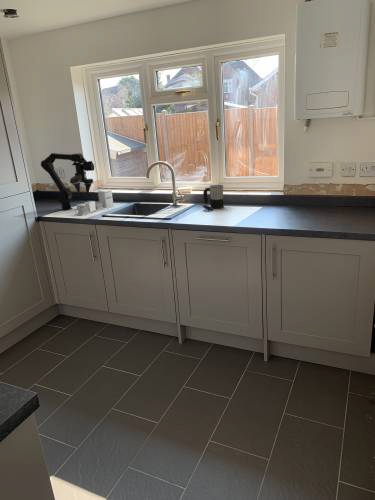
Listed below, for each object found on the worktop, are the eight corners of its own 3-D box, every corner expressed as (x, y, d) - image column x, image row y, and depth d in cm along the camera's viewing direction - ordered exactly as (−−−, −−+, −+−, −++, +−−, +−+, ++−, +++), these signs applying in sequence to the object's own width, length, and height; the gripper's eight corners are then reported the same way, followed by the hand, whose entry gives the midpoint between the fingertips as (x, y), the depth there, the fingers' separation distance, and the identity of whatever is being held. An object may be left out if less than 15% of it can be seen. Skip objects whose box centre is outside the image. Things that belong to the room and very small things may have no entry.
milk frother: (224, 205, 274) (223, 184, 269) (224, 210, 259) (223, 188, 254) (203, 206, 276) (202, 185, 271) (202, 211, 261) (200, 189, 256)
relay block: (77, 209, 297) (76, 205, 296) (79, 208, 301) (79, 203, 299) (81, 209, 296) (81, 205, 295) (84, 208, 299) (83, 203, 298)
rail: (76, 215, 277) (75, 207, 276) (99, 208, 295) (98, 201, 293) (82, 215, 274) (81, 207, 272) (105, 208, 291) (104, 201, 290)
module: (85, 210, 283) (84, 202, 281) (91, 209, 287) (90, 200, 285) (90, 211, 281) (89, 202, 279) (95, 209, 285) (94, 200, 283)
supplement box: (106, 208, 292) (104, 191, 288) (99, 208, 296) (97, 191, 293) (113, 206, 298) (111, 189, 294) (107, 206, 302) (105, 189, 298)
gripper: (62, 172, 287) (66, 194, 292) (80, 172, 277) (84, 195, 282) (74, 170, 296) (77, 191, 300) (92, 170, 286) (95, 192, 291)
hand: (83, 192), depth 293 cm, fingers open, 9 cm apart
